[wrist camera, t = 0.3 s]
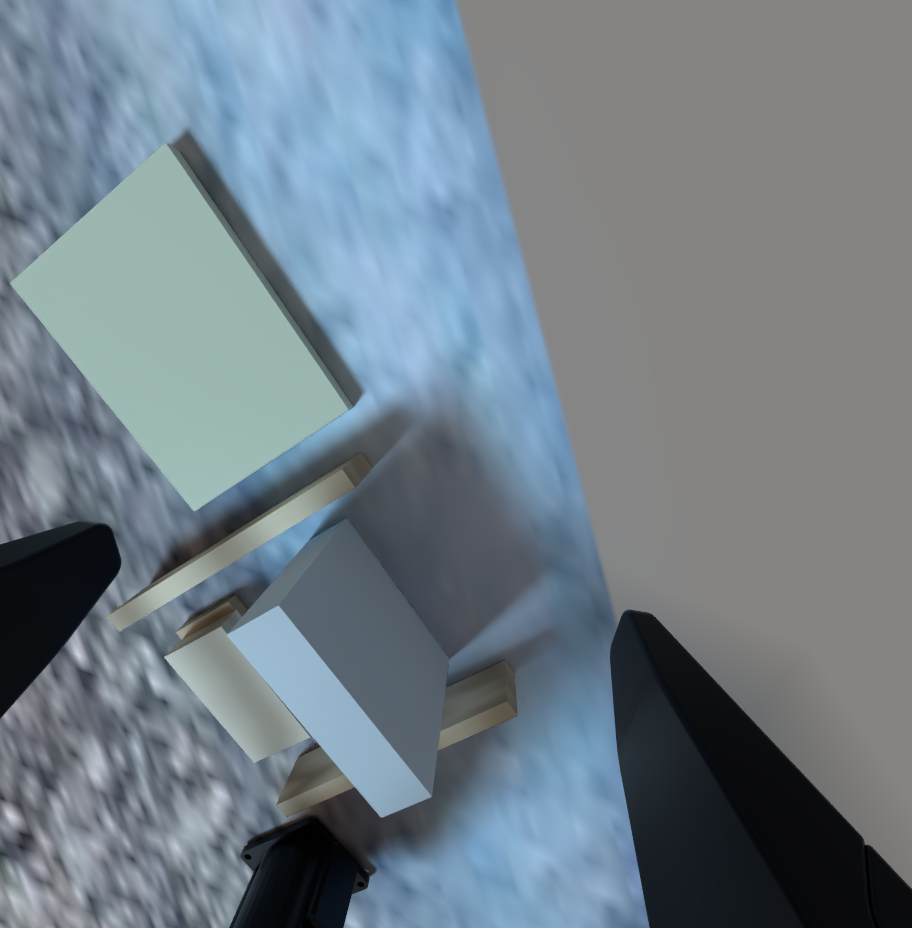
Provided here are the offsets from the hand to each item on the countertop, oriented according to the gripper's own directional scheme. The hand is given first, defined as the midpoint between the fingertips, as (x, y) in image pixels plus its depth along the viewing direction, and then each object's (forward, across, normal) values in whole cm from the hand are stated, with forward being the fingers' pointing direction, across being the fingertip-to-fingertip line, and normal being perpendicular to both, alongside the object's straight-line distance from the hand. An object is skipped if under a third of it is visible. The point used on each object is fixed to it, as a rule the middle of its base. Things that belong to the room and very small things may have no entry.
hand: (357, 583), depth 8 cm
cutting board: (+14, +13, +1) cm, 19 cm away
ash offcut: (+10, +10, +18) cm, 23 cm away
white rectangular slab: (+12, +3, +13) cm, 18 cm away
